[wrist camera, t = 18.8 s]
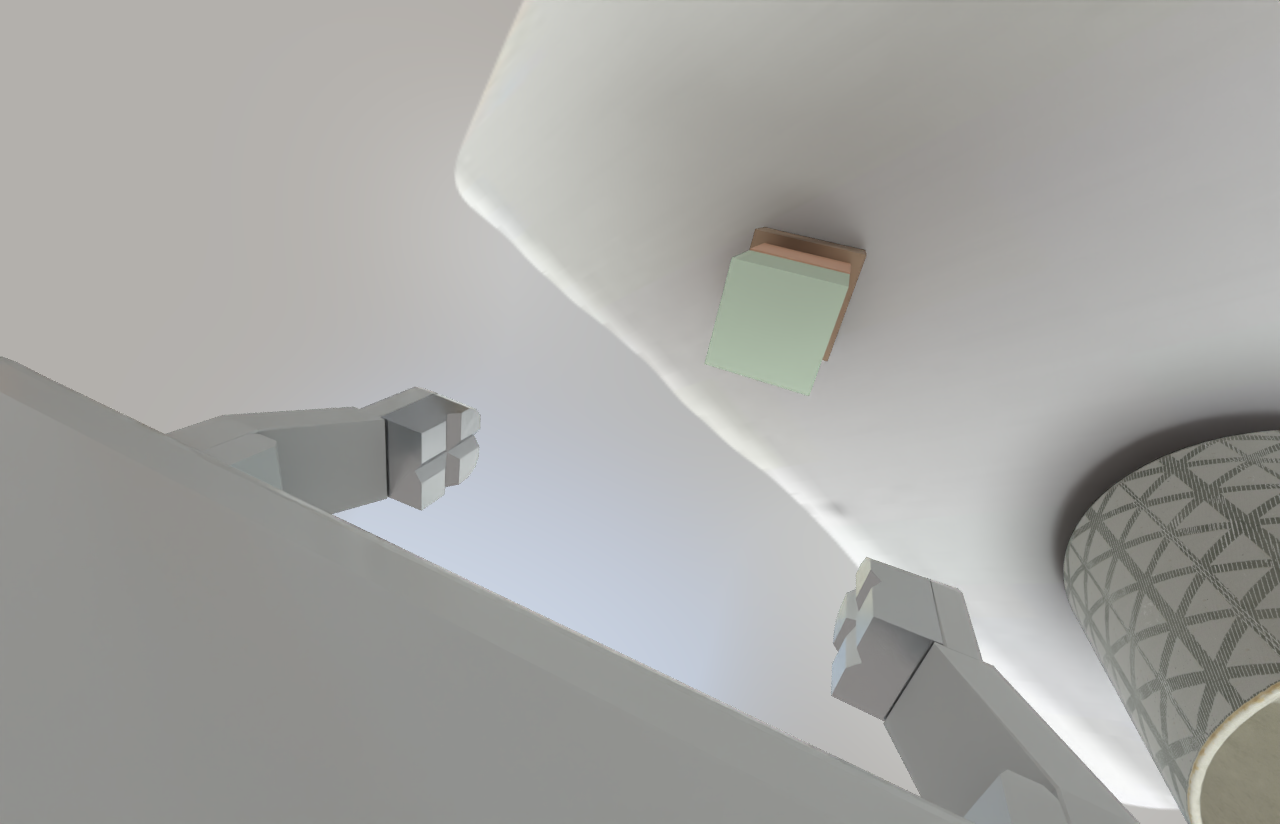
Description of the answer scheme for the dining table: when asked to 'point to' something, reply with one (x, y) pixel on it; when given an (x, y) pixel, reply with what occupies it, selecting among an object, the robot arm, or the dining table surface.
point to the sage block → (776, 319)
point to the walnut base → (819, 249)
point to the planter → (1193, 618)
